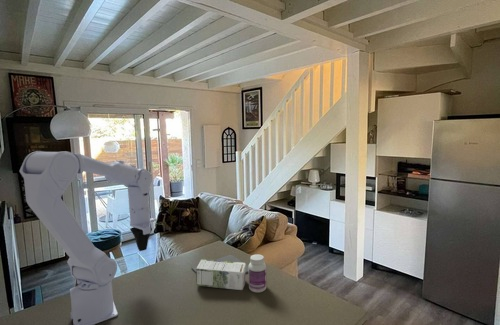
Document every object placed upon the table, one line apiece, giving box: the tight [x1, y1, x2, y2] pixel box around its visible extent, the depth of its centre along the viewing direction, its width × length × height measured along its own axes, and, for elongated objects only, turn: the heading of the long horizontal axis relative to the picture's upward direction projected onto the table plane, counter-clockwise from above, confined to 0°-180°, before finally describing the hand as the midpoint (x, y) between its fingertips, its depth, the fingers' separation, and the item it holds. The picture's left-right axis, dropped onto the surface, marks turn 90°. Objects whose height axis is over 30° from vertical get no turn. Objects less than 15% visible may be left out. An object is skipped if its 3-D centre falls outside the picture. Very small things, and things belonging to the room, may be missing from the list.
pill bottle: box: [248, 254, 267, 293], centre depth 80 cm, size 5×5×10 cm
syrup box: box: [195, 258, 247, 291], centre depth 83 cm, size 6×6×14 cm
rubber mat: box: [191, 254, 249, 274], centre depth 92 cm, size 16×14×1 cm
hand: (142, 249), depth 85 cm, fingers closed
